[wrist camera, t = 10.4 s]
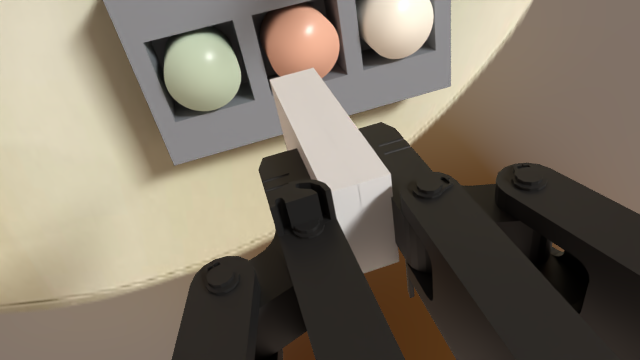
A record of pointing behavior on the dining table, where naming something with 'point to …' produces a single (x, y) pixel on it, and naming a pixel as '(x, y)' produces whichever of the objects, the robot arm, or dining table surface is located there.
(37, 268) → the dining table surface
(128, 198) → the dining table surface
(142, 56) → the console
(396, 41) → the button cream
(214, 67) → the button sage
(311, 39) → the button terracotta
